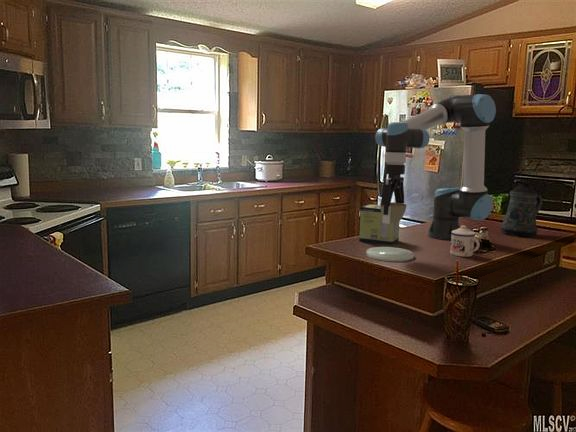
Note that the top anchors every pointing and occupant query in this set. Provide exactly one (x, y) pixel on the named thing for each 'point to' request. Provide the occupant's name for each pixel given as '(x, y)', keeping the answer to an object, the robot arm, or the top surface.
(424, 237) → the top surface
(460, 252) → the teacup with lid
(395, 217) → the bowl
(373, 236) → the protein box
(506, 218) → the beer stein
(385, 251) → the dish
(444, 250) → the top surface
